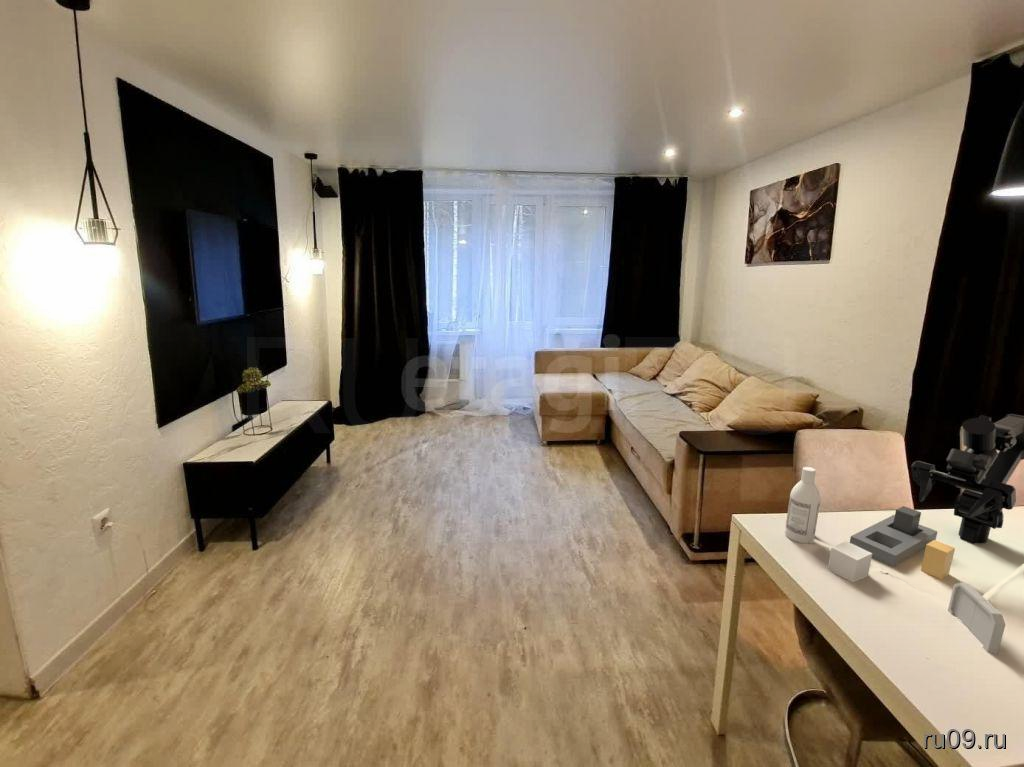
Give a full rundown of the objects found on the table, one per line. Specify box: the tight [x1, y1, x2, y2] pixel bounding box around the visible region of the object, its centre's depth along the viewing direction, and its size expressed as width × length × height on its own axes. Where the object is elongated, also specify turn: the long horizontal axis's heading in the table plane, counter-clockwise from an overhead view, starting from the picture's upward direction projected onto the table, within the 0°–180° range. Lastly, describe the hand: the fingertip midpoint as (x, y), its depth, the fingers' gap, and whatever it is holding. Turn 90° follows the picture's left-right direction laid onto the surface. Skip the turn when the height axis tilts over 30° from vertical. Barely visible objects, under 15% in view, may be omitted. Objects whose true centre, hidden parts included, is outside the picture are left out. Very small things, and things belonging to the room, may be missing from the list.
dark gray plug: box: [892, 505, 922, 536], centre depth 131 cm, size 4×4×8 cm
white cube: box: [827, 540, 873, 583], centre depth 119 cm, size 6×6×6 cm
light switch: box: [947, 582, 1006, 655], centre depth 99 cm, size 2×12×8 cm, turn 168°
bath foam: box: [784, 466, 821, 544], centre depth 132 cm, size 7×7×20 cm
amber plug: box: [920, 539, 956, 580], centre depth 117 cm, size 4×4×8 cm
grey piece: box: [849, 514, 938, 567], centre depth 129 cm, size 22×10×4 cm, turn 119°
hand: (943, 508), depth 115 cm, fingers open, 9 cm apart
